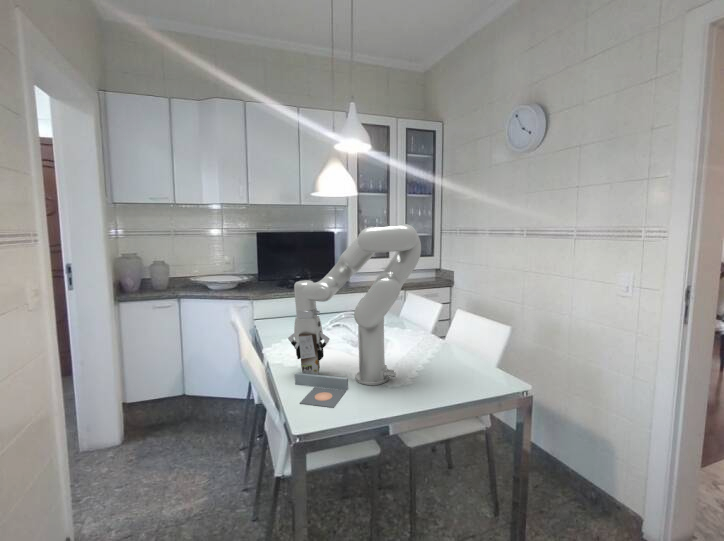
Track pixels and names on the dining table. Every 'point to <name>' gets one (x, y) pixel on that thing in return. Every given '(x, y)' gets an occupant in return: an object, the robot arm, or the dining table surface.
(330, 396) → the resting mat
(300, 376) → the grey flat bar
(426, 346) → the dining table surface
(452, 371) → the dining table surface
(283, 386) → the dining table surface
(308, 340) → the coffee box
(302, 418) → the dining table surface
